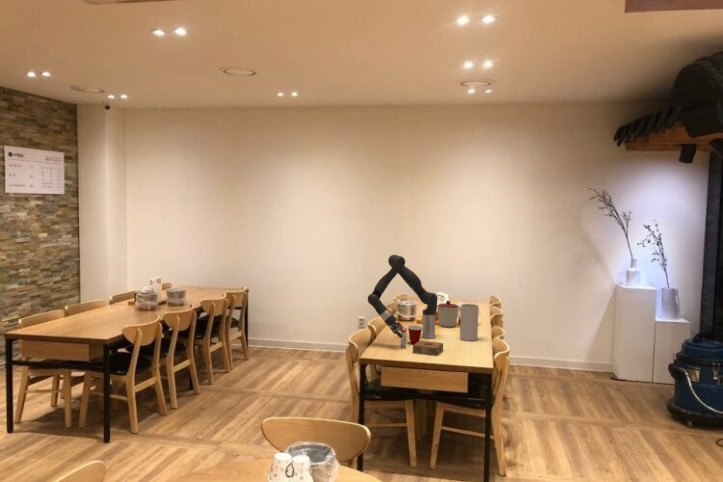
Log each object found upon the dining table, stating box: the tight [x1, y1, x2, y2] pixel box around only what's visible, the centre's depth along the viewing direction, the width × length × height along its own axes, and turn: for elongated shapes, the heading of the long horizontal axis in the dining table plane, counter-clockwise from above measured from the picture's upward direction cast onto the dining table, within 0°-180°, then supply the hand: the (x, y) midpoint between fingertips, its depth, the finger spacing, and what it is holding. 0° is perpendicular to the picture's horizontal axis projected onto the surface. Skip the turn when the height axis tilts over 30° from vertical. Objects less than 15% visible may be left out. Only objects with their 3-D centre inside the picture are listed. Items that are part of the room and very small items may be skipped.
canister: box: [437, 300, 460, 328], centre depth 464 cm, size 18×18×21 cm
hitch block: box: [412, 340, 444, 357], centre depth 378 cm, size 16×16×5 cm
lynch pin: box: [400, 327, 408, 349], centre depth 387 cm, size 4×4×13 cm
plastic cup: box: [407, 324, 423, 345], centre depth 400 cm, size 11×11×12 cm
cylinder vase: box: [459, 303, 479, 342], centre depth 417 cm, size 12×12×25 cm
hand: (403, 336), depth 387 cm, fingers open, 8 cm apart
